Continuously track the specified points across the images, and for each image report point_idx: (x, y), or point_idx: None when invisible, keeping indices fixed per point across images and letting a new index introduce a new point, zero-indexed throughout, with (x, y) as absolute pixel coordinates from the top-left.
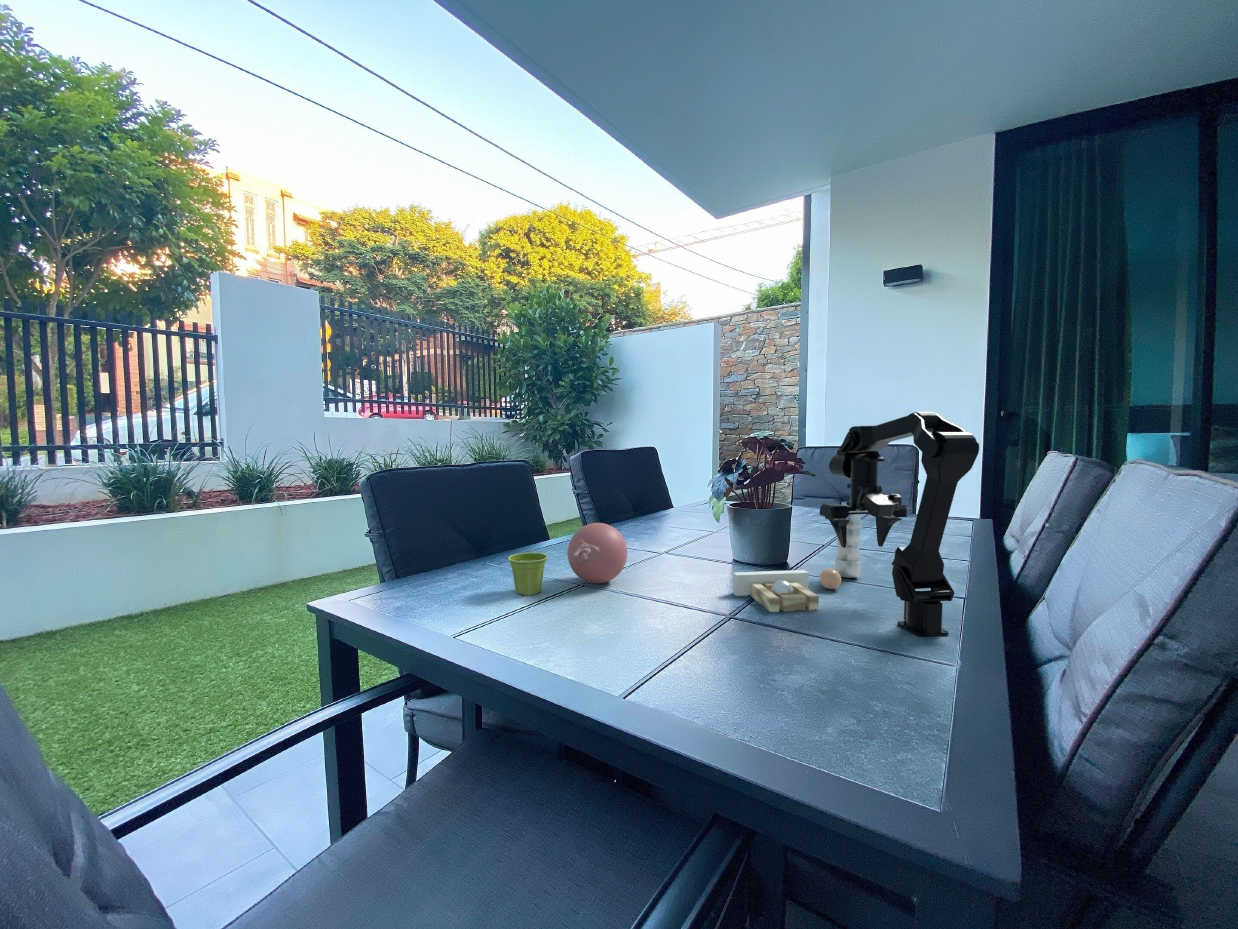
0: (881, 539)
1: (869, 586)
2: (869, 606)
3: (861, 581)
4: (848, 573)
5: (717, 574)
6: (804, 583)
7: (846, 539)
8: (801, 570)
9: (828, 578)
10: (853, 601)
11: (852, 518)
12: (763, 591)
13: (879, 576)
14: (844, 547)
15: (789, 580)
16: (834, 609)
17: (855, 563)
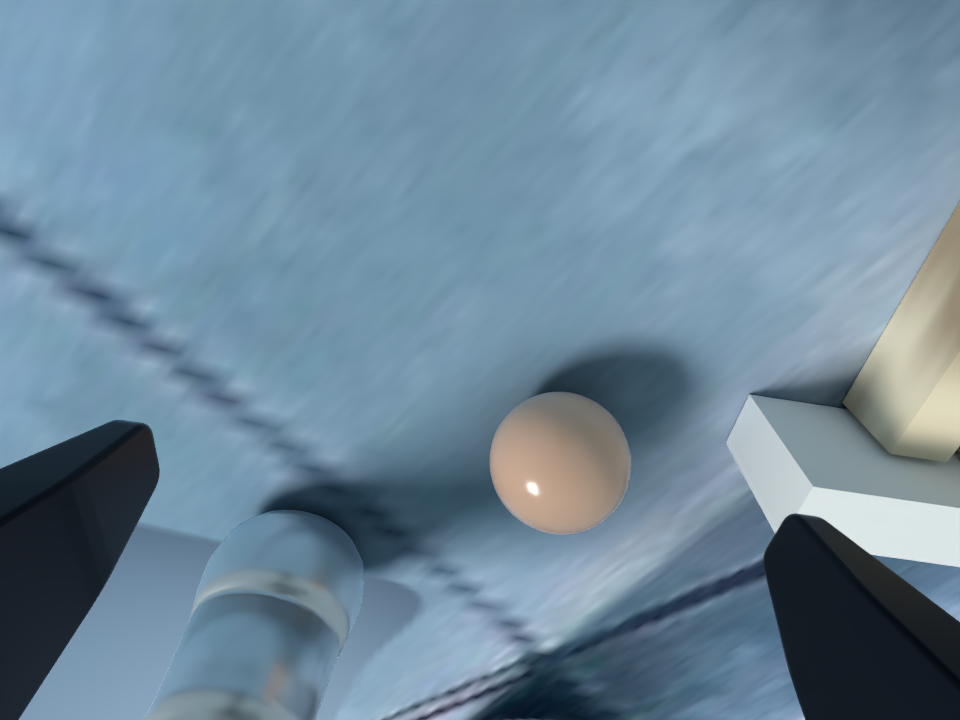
0: (51, 515)
1: (278, 393)
2: (585, 33)
3: (268, 472)
4: (322, 534)
5: None
6: (804, 437)
7: (899, 632)
8: None
9: (618, 439)
10: (607, 175)
11: None
12: None
13: None
14: (817, 517)
15: (926, 471)
16: (905, 54)
17: (255, 579)
